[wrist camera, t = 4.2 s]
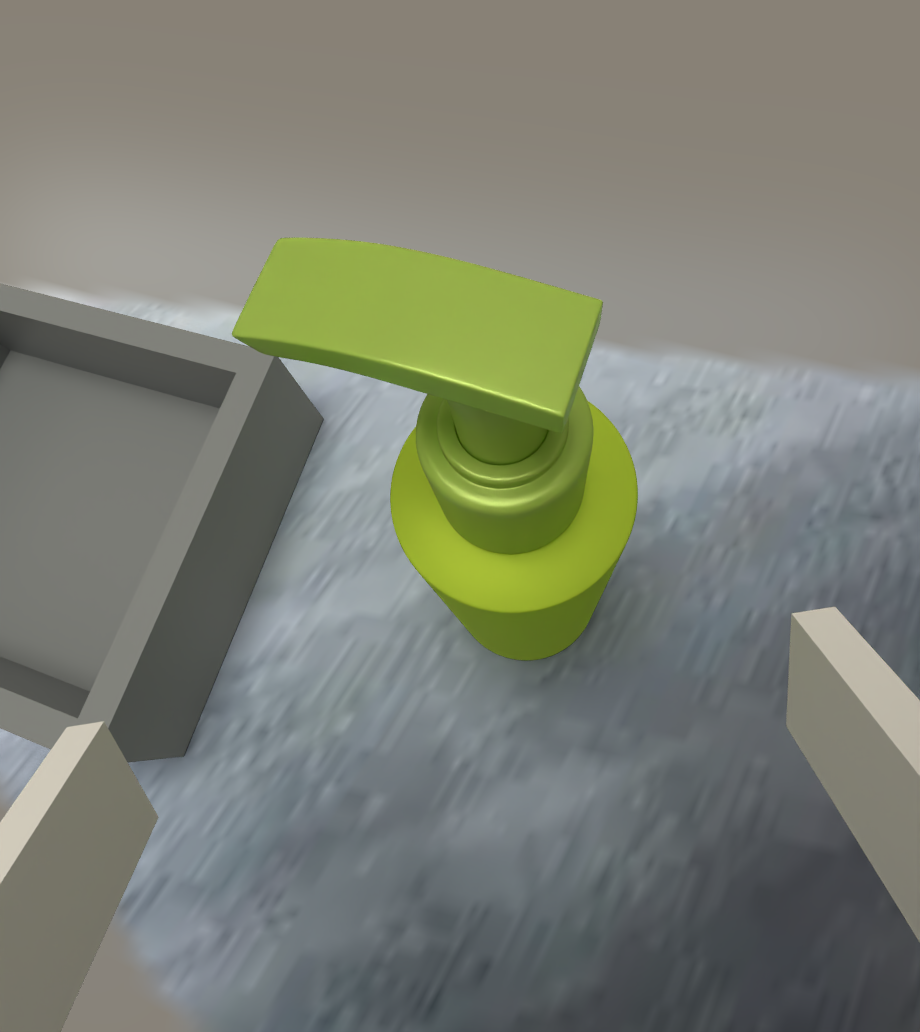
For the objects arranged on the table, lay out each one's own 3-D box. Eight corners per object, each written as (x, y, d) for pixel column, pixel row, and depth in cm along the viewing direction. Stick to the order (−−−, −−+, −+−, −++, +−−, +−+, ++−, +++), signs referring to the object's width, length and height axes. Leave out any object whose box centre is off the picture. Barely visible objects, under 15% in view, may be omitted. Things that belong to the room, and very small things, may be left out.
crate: (323, 418, 32) (275, 353, 26) (183, 756, 28) (91, 766, 22) (17, 335, 35) (-84, 262, 30) (-144, 624, 32) (-296, 604, 26)
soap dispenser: (460, 500, 30) (314, 114, 11) (612, 546, 28) (754, 198, 9) (414, 625, 28) (153, 438, 9) (571, 680, 27) (641, 591, 8)
